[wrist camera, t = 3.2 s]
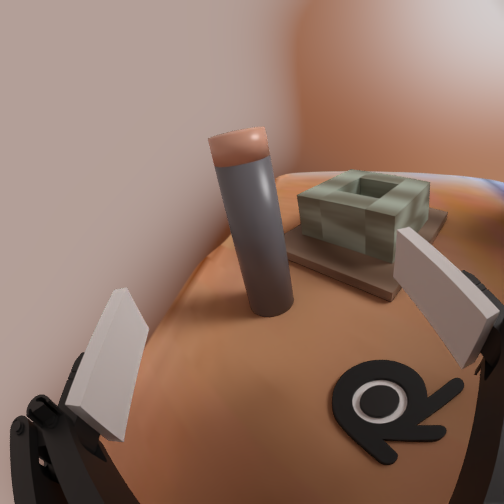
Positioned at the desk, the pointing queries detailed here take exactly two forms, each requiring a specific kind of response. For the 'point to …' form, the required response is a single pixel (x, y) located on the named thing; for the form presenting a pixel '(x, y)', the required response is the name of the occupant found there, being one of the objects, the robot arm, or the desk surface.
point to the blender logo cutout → (388, 406)
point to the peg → (254, 217)
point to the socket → (361, 227)
